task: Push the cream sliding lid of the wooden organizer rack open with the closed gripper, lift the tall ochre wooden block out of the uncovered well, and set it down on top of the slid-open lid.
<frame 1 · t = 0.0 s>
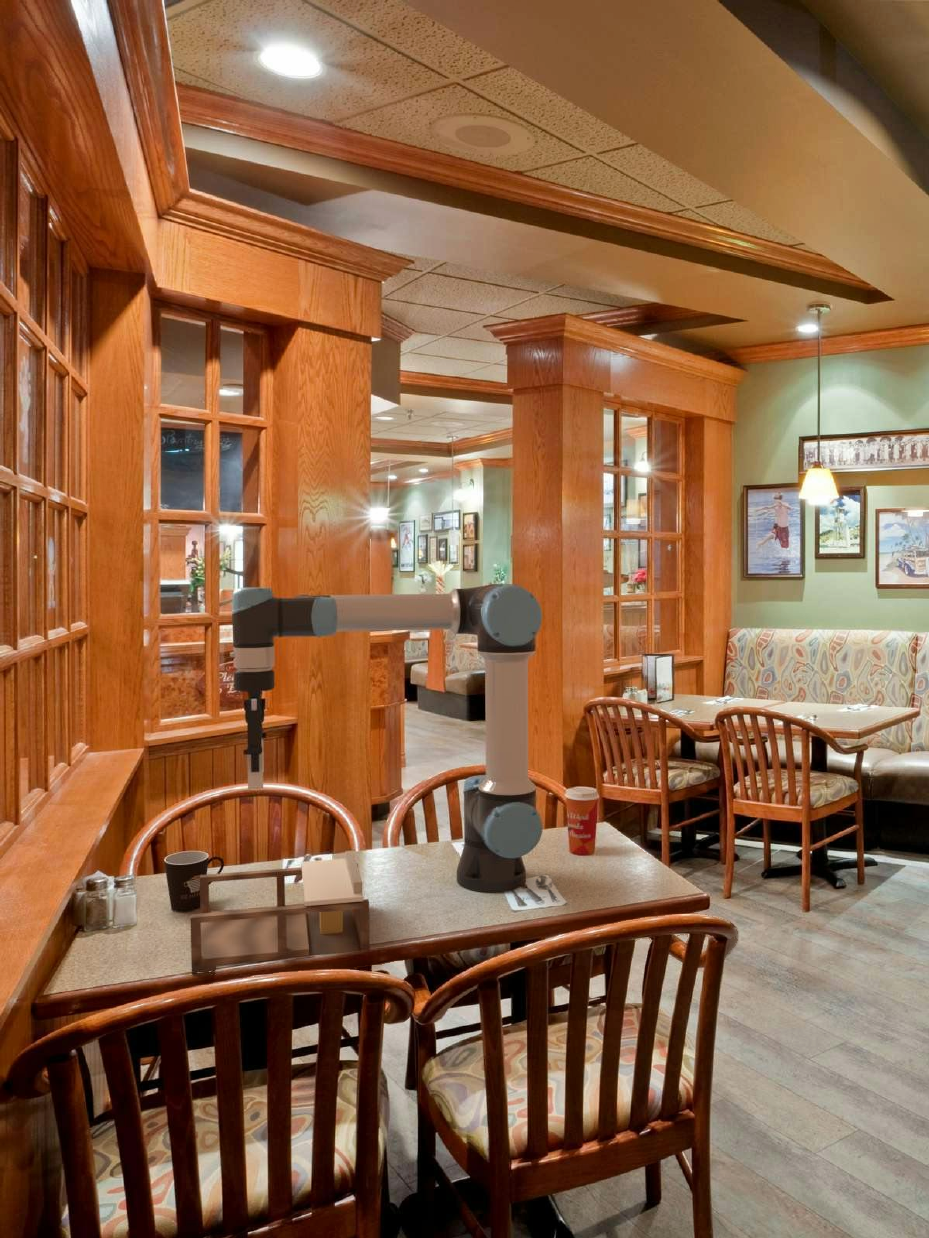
hand: (256, 780, 168), 28 cm above the table, fingers open, 13 cm apart
coffee cup: (582, 852, 213), on the table
wooden organizer rack: (281, 939, 163), on the table
lid: (330, 874, 164), point 11 cm above the table, slide at 0.0 cm
coffee mug: (195, 906, 180), on the table
block: (331, 928, 165), point 1 cm above the table, touching wooden organizer rack
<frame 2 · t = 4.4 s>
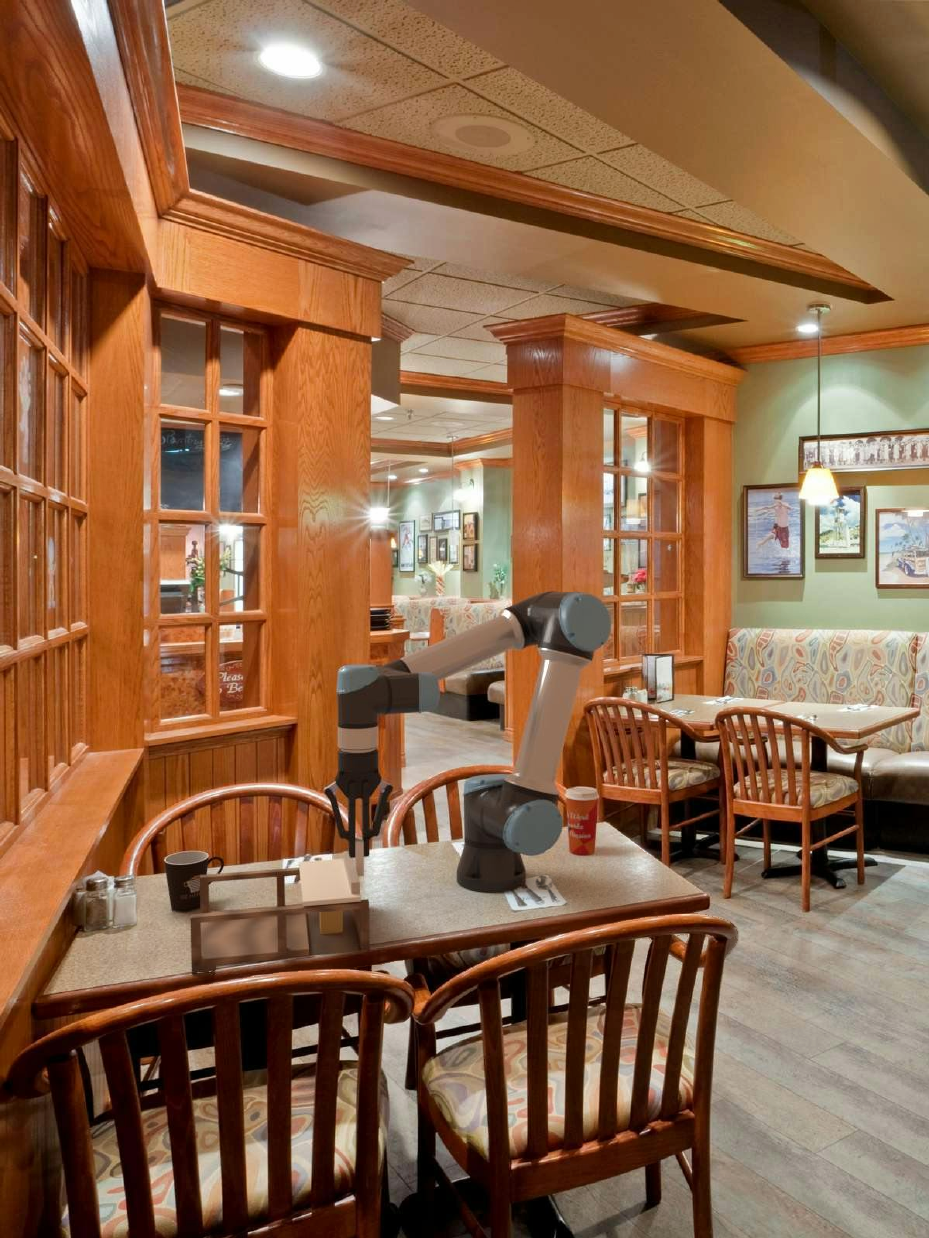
hand: (359, 873, 165), 11 cm above the table, fingers closed
lid: (328, 875, 164), point 11 cm above the table, slide at 0.4 cm, touching gripper
everything else where it was.
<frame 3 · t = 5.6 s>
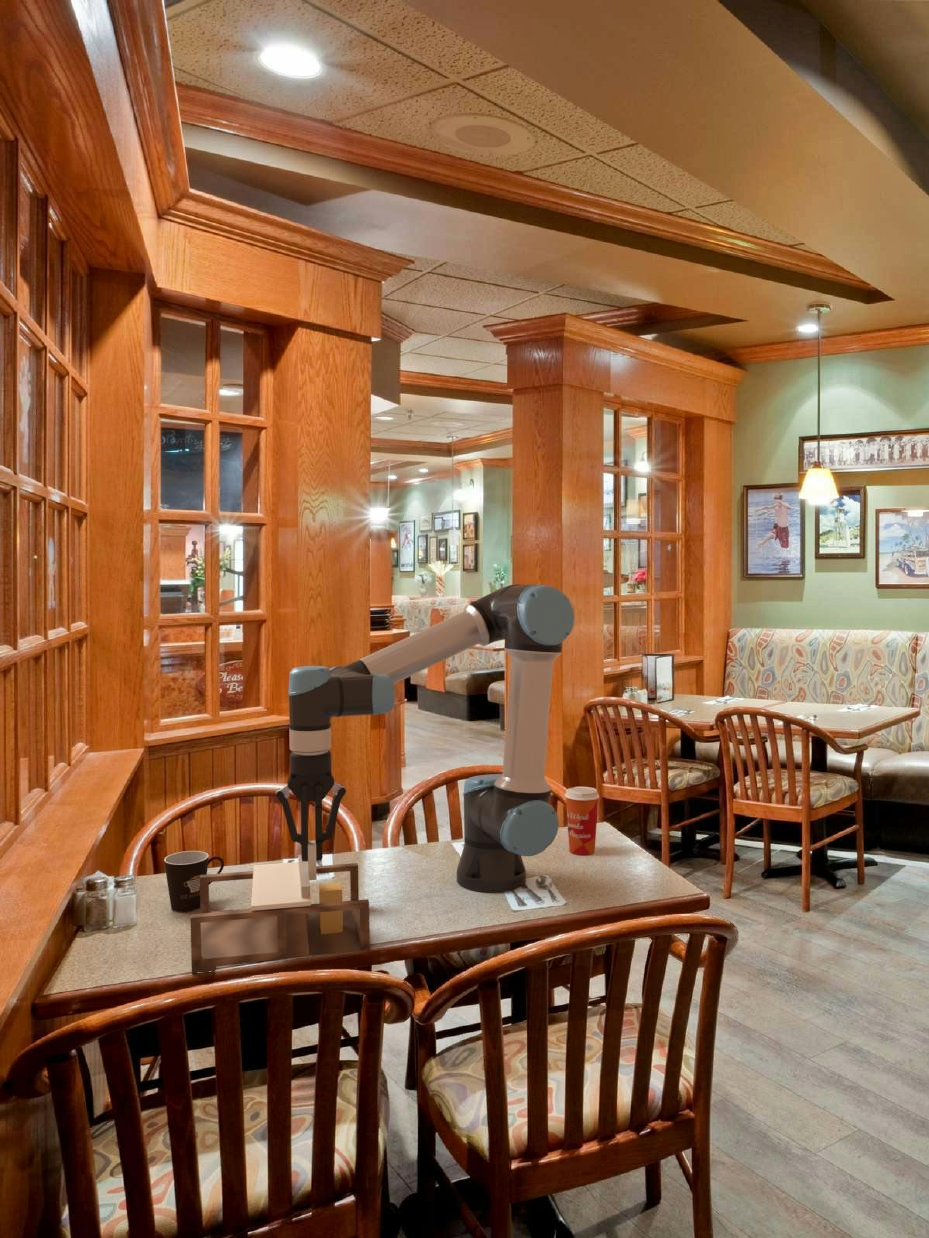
hand: (312, 877, 163), 11 cm above the table, fingers closed
lid: (280, 878, 162), point 11 cm above the table, slide at 9.1 cm, touching gripper
everything else where it was.
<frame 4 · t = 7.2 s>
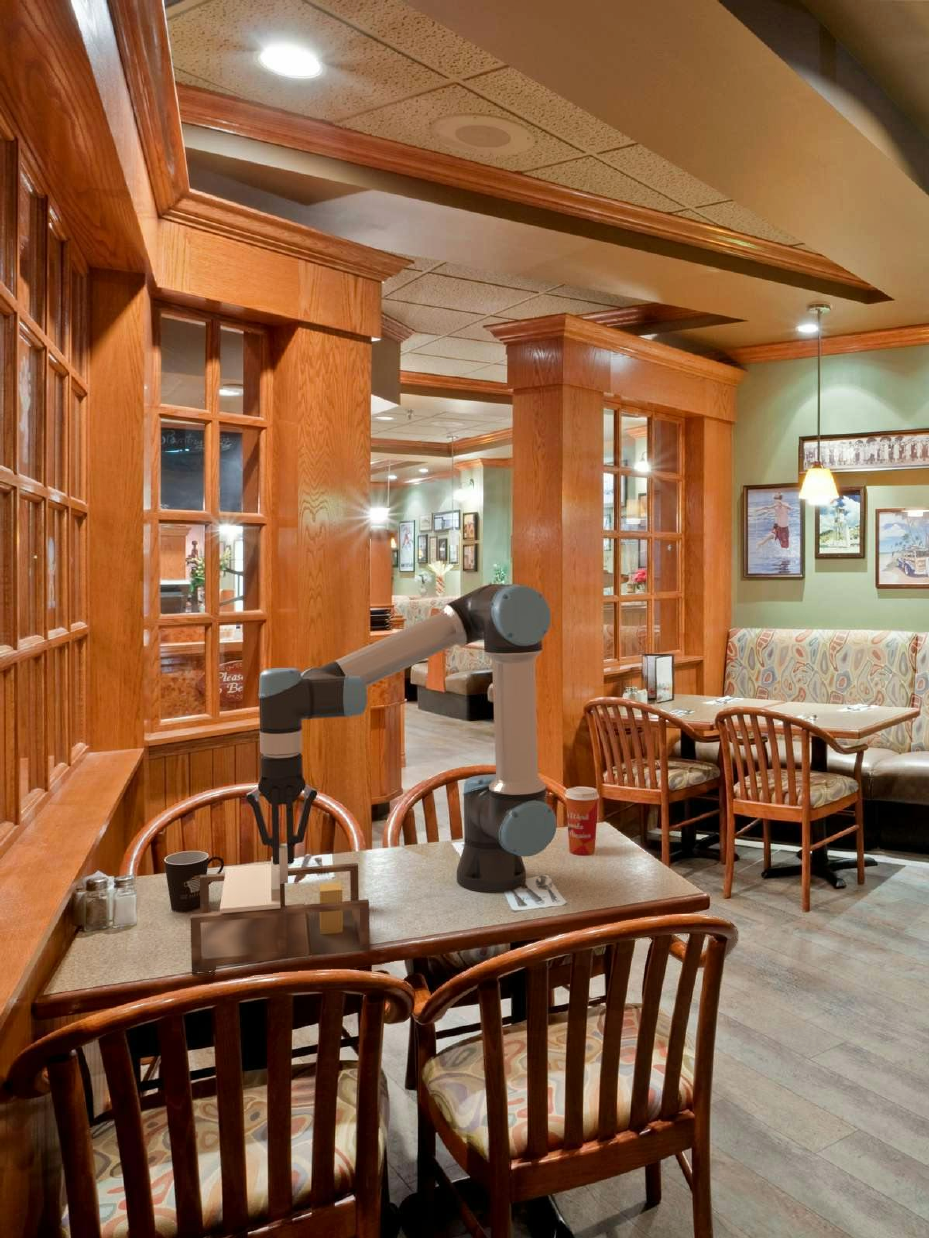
hand: (283, 880, 162), 11 cm above the table, fingers closed
lid: (251, 881, 161), point 11 cm above the table, slide at 14.2 cm, touching gripper
everything else where it was.
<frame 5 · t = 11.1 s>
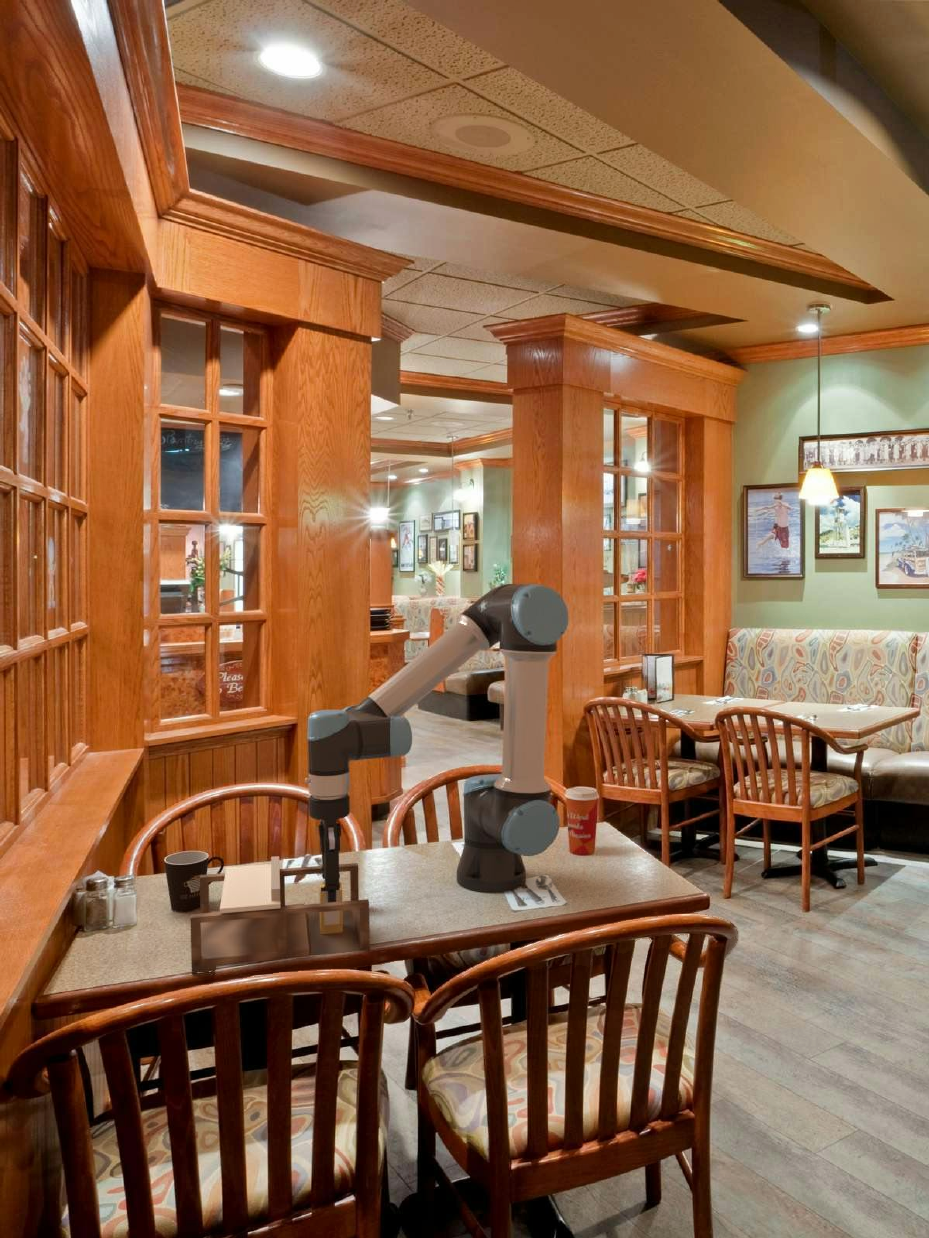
hand: (331, 918, 165), 3 cm above the table, fingers closed on block, 4 cm apart
lid: (251, 881, 161), point 11 cm above the table, slide at 14.2 cm
block: (331, 928, 165), point 1 cm above the table, touching gripper, wooden organizer rack
everything else where it was.
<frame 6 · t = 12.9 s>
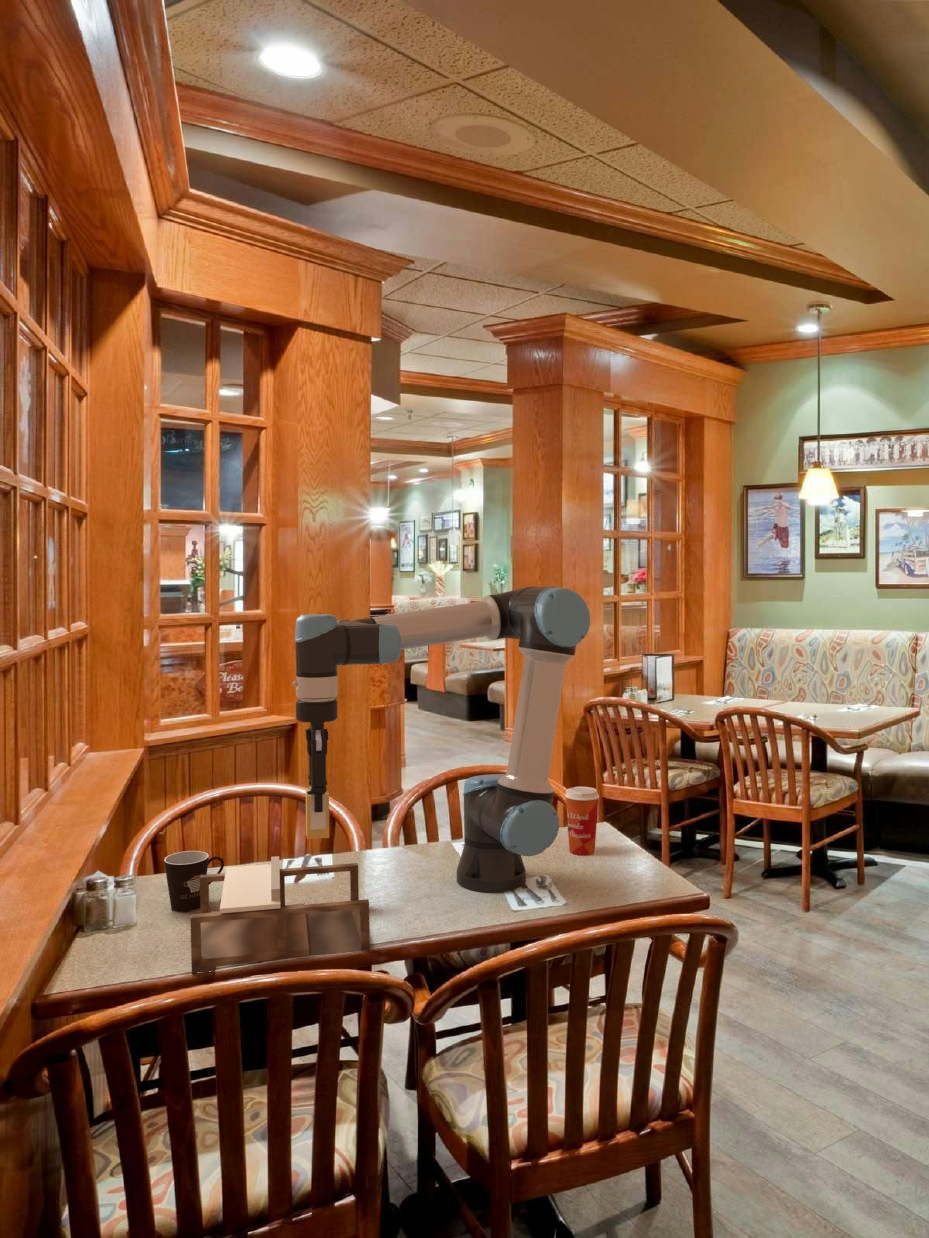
hand: (317, 824, 163), 21 cm above the table, fingers closed on block, 4 cm apart
block: (317, 835, 163), point 19 cm above the table, touching gripper
everything else where it was.
when the fingers open (14 cm above the table, at t = 15.1 s): block stays where it is, resting on lid.
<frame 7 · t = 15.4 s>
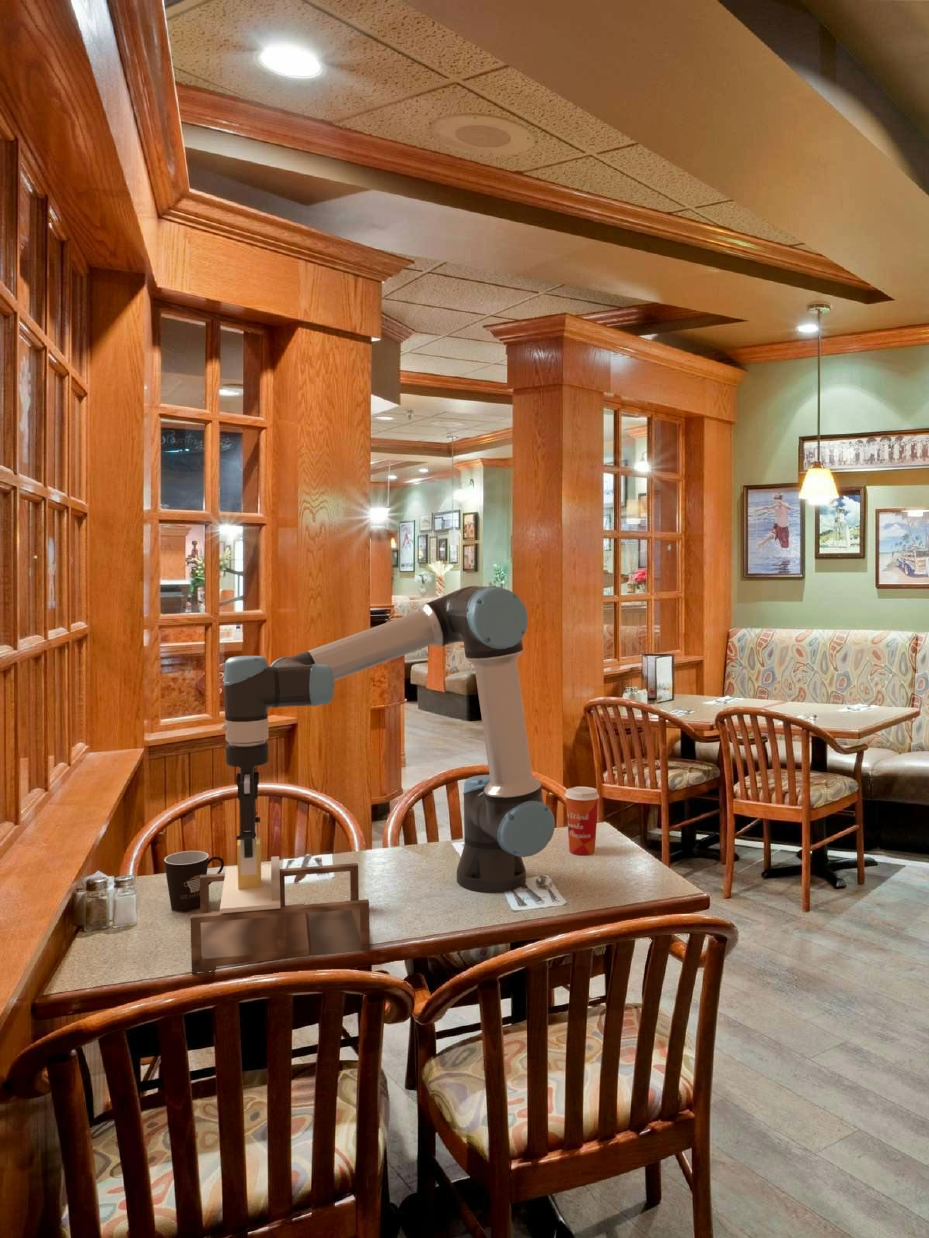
hand: (249, 866, 161), 14 cm above the table, fingers open, 8 cm apart
lid: (251, 881, 161), point 11 cm above the table, slide at 14.2 cm, touching block
block: (249, 884, 161), point 11 cm above the table, touching lid
everything else where it was.
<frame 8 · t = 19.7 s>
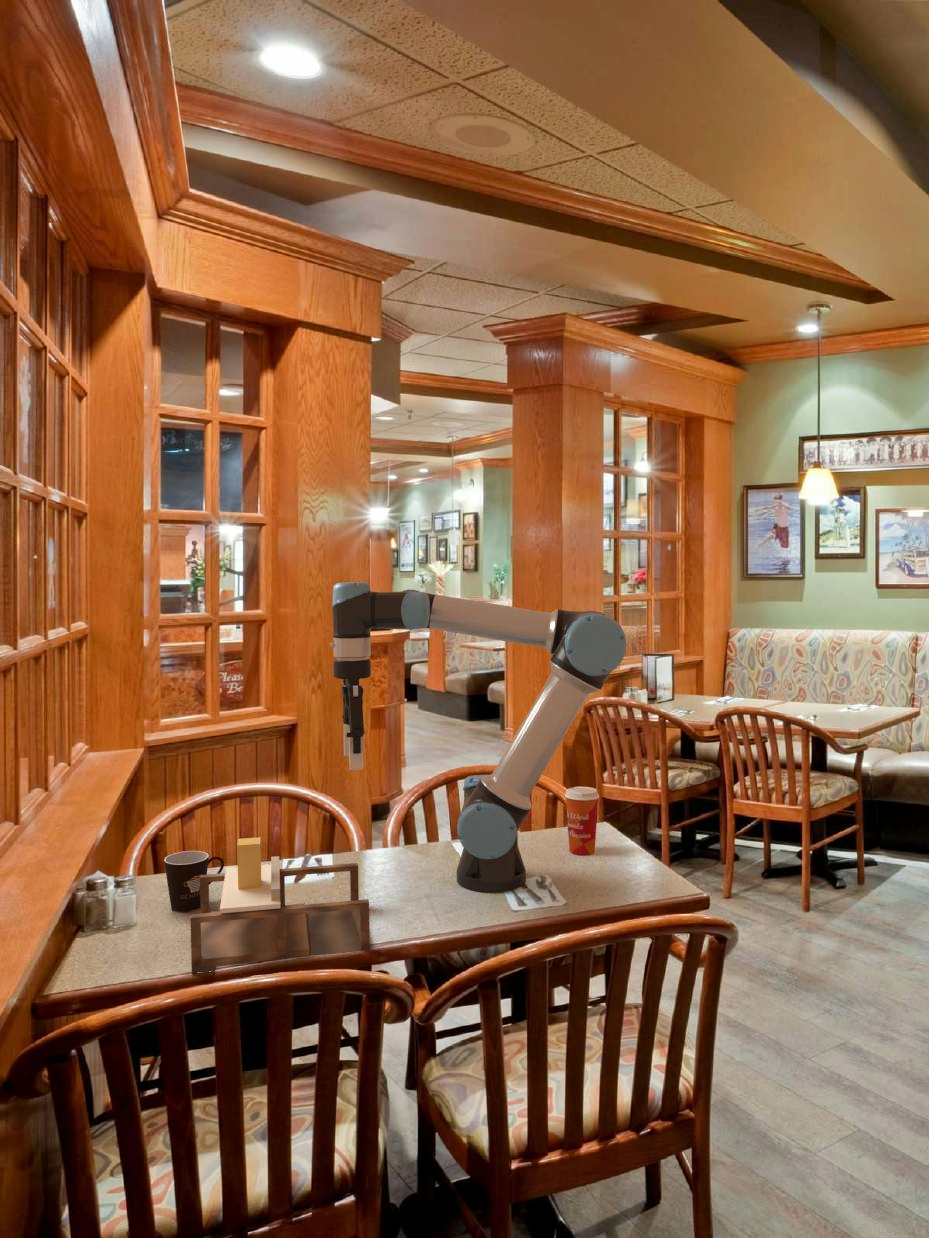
hand: (353, 762, 181), 29 cm above the table, fingers open, 13 cm apart
nothing on the table moved.
at the end: lid slide at 14.2 cm; block inside the target area on the lid (0.3 cm from its centre), point 10.8 cm above the lid's base; block tilted 0° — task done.
